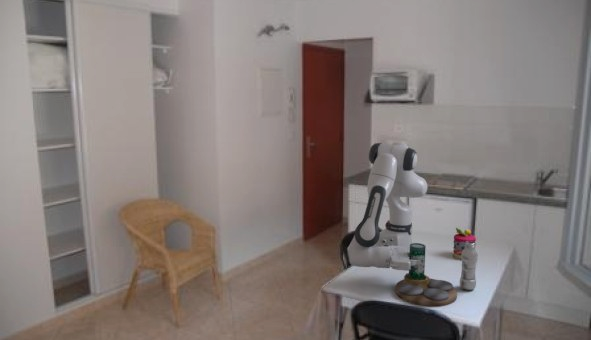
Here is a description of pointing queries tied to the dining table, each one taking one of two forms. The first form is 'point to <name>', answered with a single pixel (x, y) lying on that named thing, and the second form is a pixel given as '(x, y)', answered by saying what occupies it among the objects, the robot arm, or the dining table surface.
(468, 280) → the plastic bottle
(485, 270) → the dining table surface
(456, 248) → the cake
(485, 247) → the dining table surface
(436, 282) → the wooden stone platter
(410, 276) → the can
